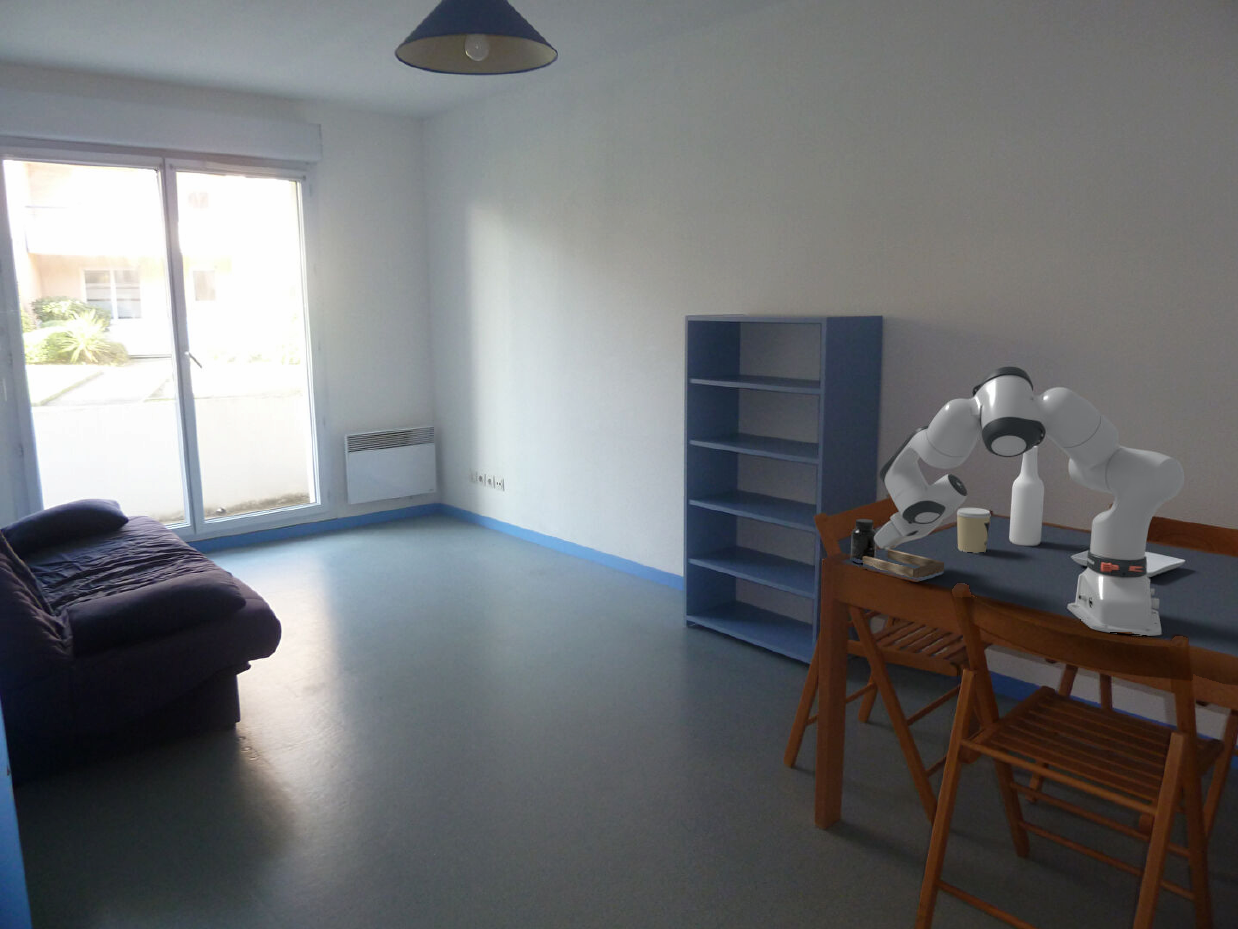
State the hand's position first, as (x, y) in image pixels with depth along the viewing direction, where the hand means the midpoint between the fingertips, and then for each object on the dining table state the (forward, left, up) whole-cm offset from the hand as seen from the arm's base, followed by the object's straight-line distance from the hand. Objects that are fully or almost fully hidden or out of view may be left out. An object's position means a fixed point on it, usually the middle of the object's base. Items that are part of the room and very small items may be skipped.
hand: (887, 547), depth 243 cm
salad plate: (+16, -63, -6) cm, 65 cm away
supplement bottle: (+4, +7, -6) cm, 10 cm away
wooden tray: (-4, -4, -6) cm, 8 cm away
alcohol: (+38, -40, -6) cm, 55 cm away
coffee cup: (+25, -24, -6) cm, 35 cm away
